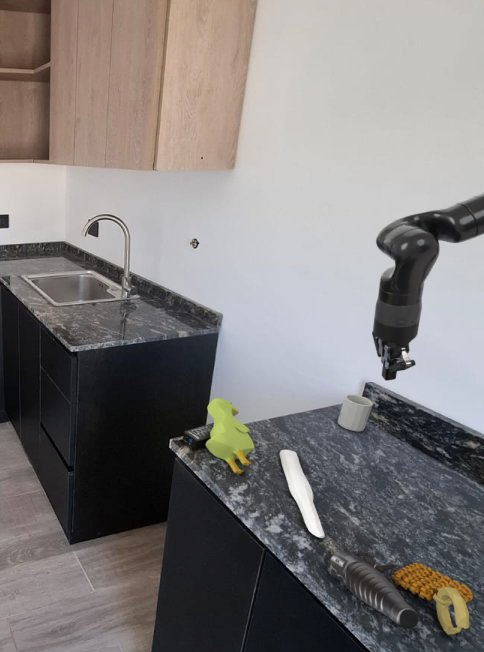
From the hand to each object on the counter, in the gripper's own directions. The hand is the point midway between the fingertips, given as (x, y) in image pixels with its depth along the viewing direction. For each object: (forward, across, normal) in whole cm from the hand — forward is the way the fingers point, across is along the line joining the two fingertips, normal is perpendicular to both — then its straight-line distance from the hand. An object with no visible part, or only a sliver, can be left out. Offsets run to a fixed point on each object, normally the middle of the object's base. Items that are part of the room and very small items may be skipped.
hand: (388, 377), depth 107 cm
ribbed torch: (+3, -44, +20) cm, 48 cm away
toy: (+4, -17, +34) cm, 39 cm away
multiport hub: (+6, -5, +42) cm, 42 cm away
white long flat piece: (+7, -21, +26) cm, 34 cm away
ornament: (+5, -39, +14) cm, 42 cm away
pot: (+22, +7, +4) cm, 23 cm away
